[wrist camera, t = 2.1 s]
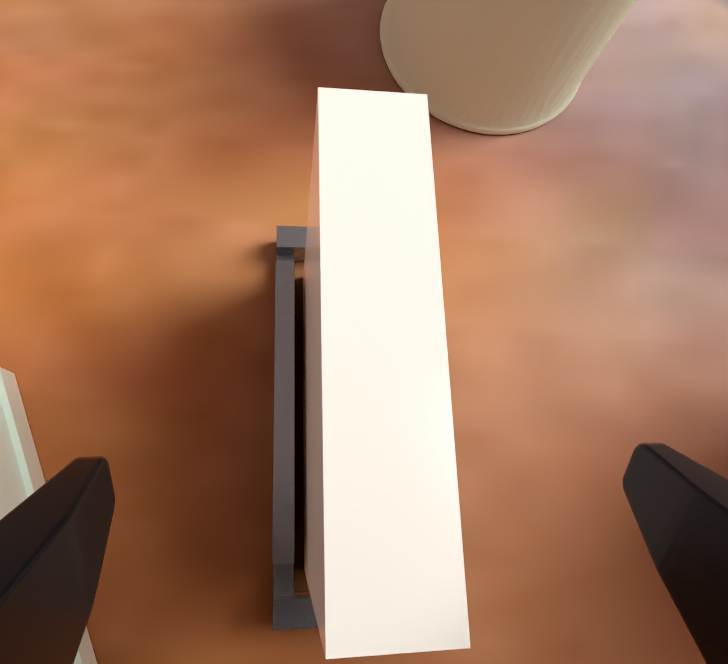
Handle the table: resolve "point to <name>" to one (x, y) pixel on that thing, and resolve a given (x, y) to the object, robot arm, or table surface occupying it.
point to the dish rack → (22, 468)
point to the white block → (378, 387)
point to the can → (496, 56)
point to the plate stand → (286, 438)
